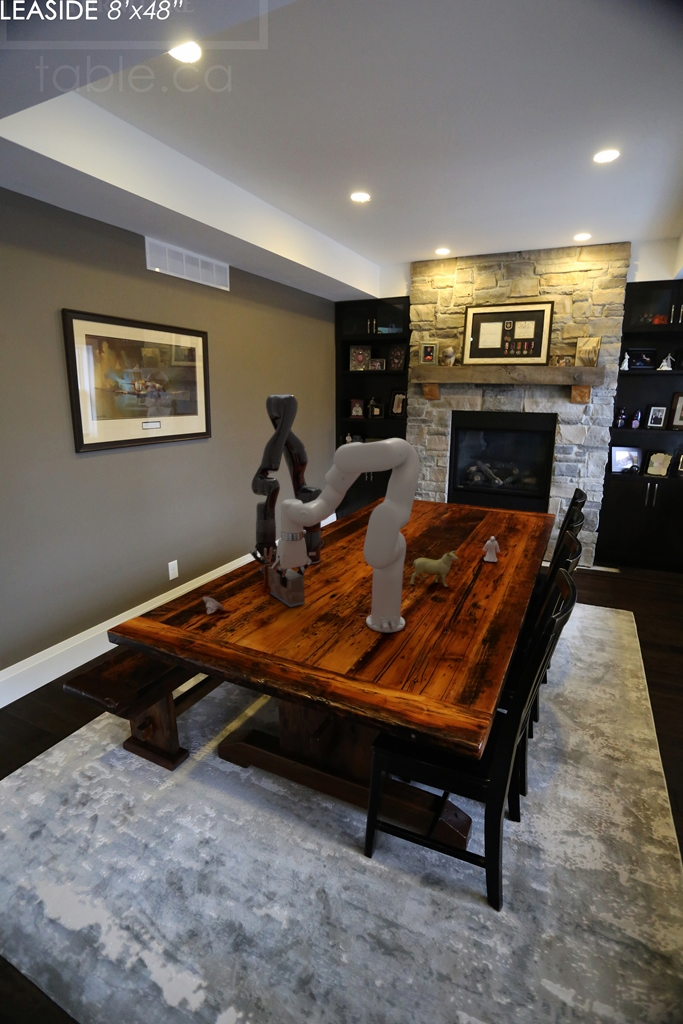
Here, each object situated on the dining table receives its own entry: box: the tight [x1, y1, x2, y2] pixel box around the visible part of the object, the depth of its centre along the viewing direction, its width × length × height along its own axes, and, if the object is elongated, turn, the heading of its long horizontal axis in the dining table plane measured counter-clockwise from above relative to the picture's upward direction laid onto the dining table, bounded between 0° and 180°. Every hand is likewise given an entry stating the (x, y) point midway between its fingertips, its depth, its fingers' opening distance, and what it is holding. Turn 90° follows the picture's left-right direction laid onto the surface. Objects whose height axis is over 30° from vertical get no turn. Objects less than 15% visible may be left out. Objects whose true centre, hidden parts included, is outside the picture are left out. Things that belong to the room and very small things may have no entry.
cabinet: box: [270, 566, 306, 608], centre depth 179 cm, size 16×6×10 cm, turn 34°
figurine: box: [482, 535, 501, 563], centre depth 223 cm, size 8×8×12 cm
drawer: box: [258, 562, 275, 589], centre depth 187 cm, size 20×4×8 cm, turn 34°
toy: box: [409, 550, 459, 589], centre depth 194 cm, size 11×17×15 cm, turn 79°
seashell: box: [202, 596, 226, 615], centre depth 167 cm, size 8×5×8 cm
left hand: (266, 572), depth 193 cm, fingers closed
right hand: (291, 584), depth 176 cm, fingers closed on cabinet, 5 cm apart
